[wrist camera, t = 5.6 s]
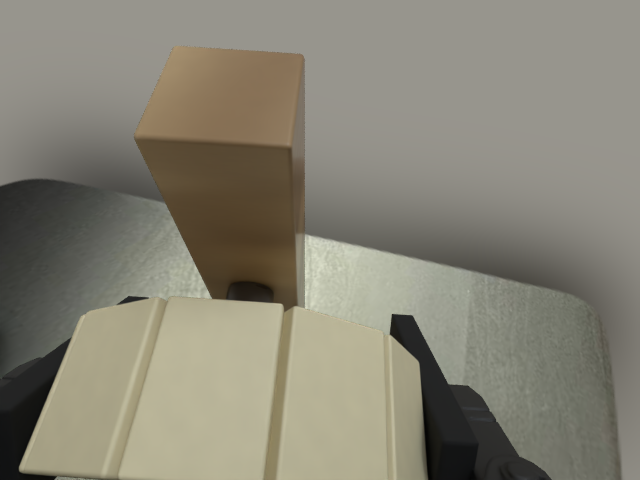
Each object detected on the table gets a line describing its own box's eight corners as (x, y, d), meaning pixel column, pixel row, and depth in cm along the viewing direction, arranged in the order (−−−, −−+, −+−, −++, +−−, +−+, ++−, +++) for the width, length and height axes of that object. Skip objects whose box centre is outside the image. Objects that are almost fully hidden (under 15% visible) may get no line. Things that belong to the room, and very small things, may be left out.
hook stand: (364, 341, 26) (496, 13, 8) (364, 528, 21) (765, 792, 3) (213, 330, 26) (11, -19, 8) (174, 514, 21) (-681, 685, 3)
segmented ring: (383, 403, 15) (464, 314, 7) (386, 496, 13) (493, 507, 6) (148, 386, 15) (-12, 281, 7) (122, 478, 13) (-117, 464, 6)
